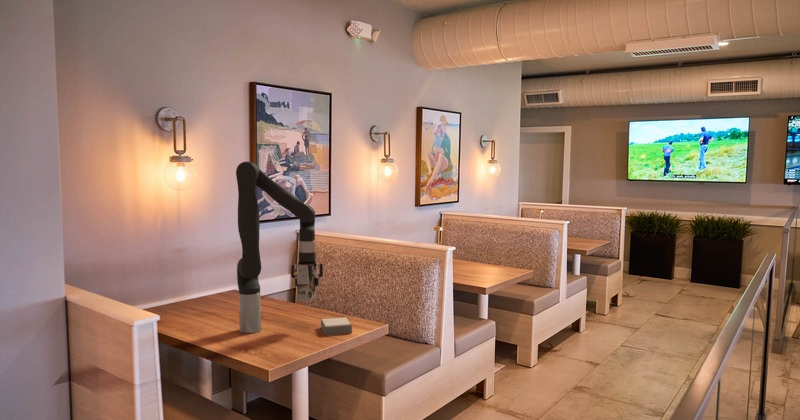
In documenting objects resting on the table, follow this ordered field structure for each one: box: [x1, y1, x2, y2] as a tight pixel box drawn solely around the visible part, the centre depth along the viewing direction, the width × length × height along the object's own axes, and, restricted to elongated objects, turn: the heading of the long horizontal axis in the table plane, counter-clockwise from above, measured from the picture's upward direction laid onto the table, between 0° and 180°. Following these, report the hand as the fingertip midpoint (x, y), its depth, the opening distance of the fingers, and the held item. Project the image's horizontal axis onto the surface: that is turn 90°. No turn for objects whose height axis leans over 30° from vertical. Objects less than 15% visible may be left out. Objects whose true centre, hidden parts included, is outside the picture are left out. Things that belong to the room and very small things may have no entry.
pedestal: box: [320, 316, 353, 336], centre depth 252 cm, size 12×12×4 cm
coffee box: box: [296, 263, 317, 302], centre depth 252 cm, size 9×6×16 cm
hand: (306, 286), depth 253 cm, fingers closed on coffee box, 8 cm apart
